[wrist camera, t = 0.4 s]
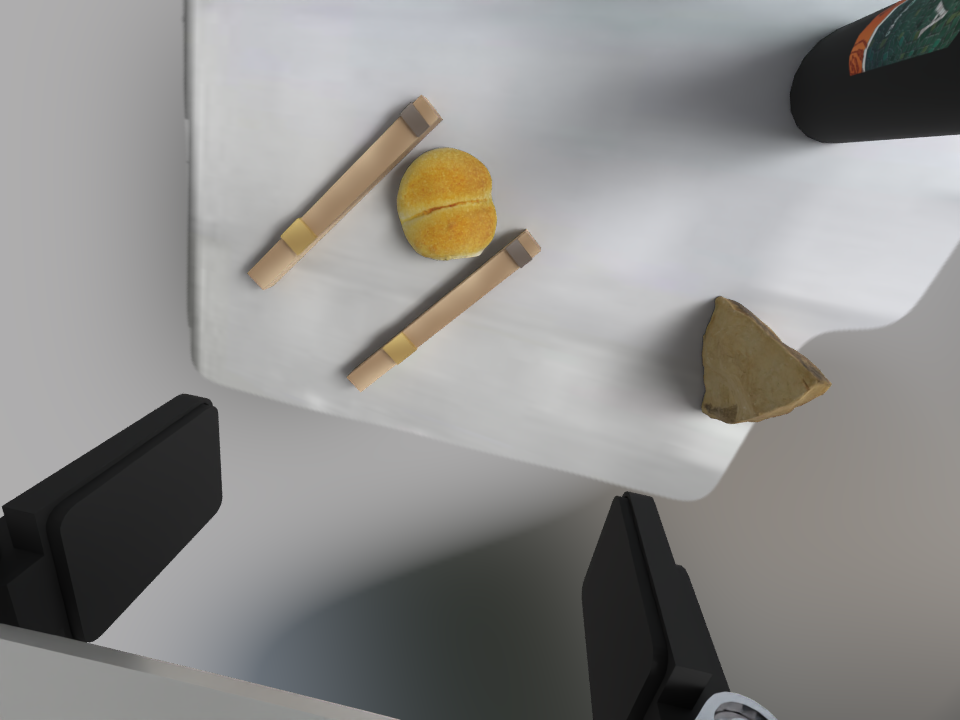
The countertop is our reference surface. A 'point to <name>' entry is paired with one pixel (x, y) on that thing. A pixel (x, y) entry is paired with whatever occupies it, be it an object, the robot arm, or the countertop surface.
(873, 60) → the wine bottle
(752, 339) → the rock
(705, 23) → the countertop surface
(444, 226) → the bread roll
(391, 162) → the slot rails
